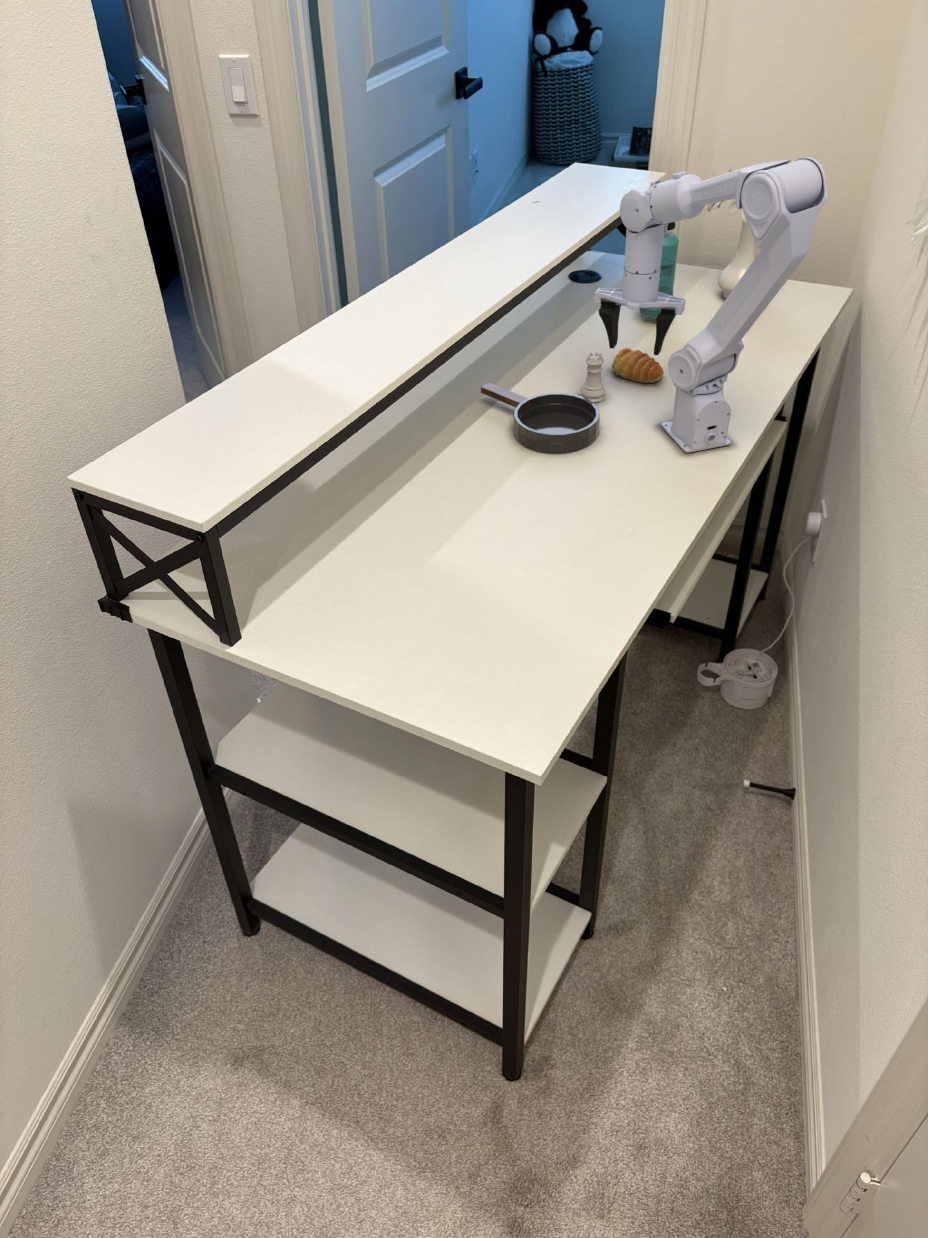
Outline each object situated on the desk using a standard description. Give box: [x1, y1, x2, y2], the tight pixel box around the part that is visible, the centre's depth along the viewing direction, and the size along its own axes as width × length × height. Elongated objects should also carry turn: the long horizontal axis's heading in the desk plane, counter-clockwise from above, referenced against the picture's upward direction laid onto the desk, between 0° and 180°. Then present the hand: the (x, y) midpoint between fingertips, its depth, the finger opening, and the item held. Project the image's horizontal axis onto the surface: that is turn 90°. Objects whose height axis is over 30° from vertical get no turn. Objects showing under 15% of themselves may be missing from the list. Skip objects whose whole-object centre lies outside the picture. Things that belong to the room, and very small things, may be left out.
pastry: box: [611, 347, 664, 384], centre depth 161 cm, size 9×7×4 cm
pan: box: [513, 392, 601, 454], centre depth 148 cm, size 14×14×4 cm
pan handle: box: [480, 382, 530, 409], centre depth 153 cm, size 10×2×1 cm, turn 45°
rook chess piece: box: [579, 351, 606, 404], centre depth 154 cm, size 4×4×8 cm
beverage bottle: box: [638, 222, 680, 318], centre depth 174 cm, size 6×7×20 cm
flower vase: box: [706, 168, 756, 300], centre depth 179 cm, size 13×18×25 cm
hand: (635, 349), depth 150 cm, fingers open, 7 cm apart
